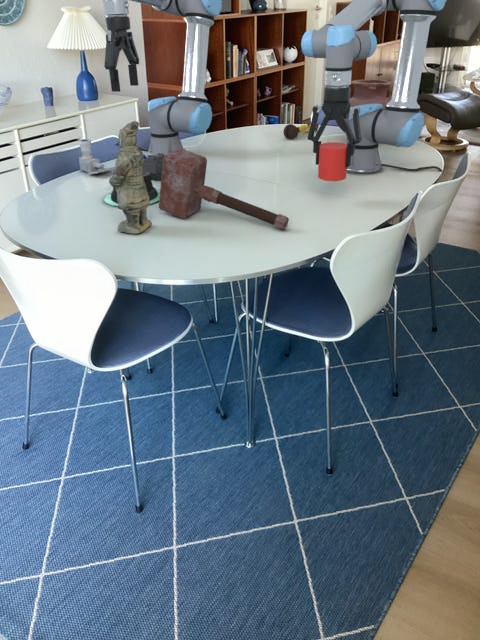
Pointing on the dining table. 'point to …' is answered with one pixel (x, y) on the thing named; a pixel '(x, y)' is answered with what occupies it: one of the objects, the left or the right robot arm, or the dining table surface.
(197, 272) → the dining table surface
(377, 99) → the clay pot
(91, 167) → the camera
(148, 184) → the chocolate cake
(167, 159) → the sledgehammer
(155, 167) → the toy
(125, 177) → the statue
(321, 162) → the canister
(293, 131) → the figurine
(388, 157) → the dining table surface
